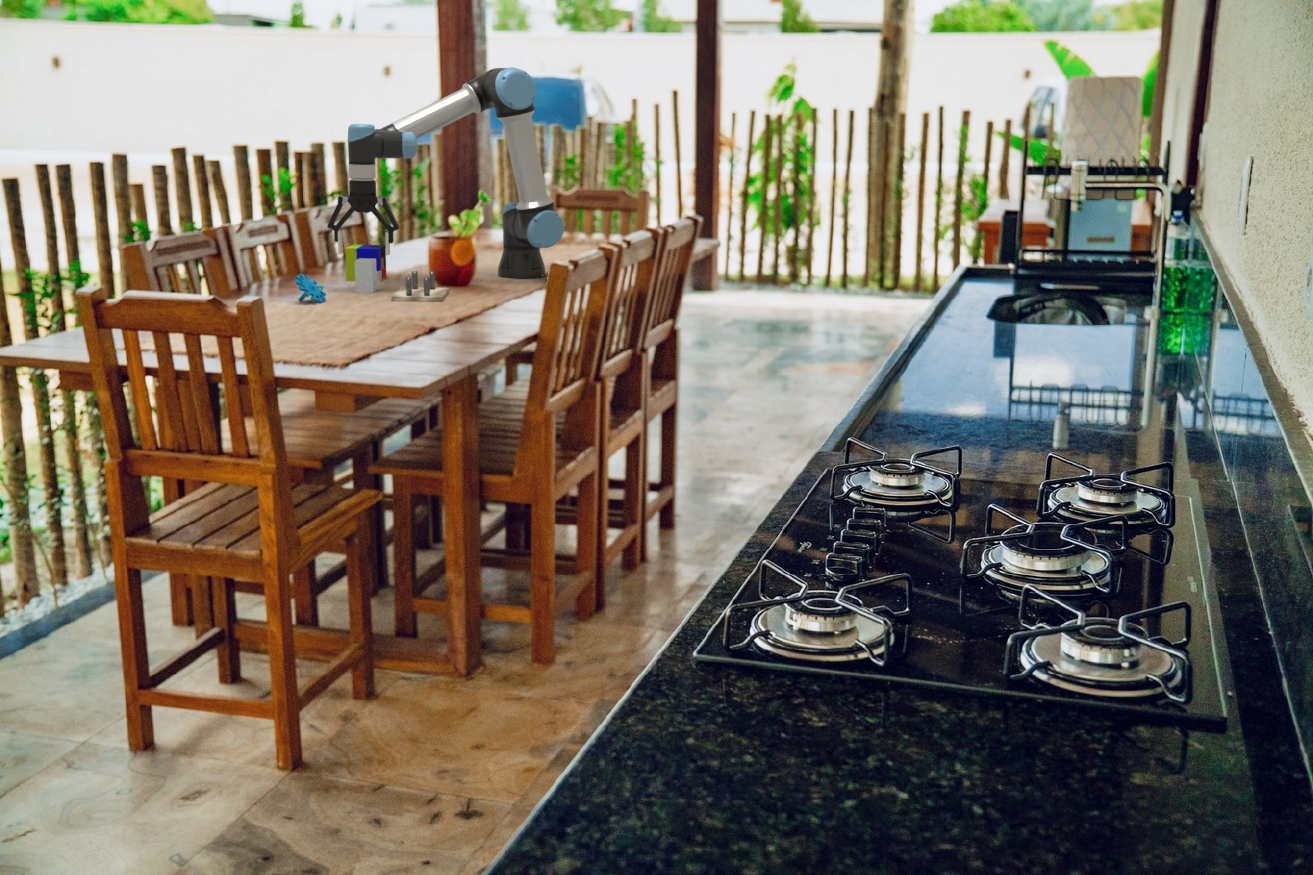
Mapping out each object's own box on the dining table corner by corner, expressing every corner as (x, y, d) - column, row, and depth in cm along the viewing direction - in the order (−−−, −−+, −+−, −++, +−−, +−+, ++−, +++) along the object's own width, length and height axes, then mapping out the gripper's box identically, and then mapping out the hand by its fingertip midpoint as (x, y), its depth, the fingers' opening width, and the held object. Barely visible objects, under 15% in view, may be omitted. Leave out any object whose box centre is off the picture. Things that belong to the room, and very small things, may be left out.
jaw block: (377, 289, 389) (376, 258, 386) (373, 292, 382) (372, 261, 380) (359, 289, 389) (358, 258, 386) (355, 292, 382) (354, 261, 379)
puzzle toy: (379, 281, 403) (378, 249, 401) (346, 281, 403) (345, 248, 401) (386, 277, 413) (385, 245, 410) (354, 276, 413) (353, 244, 411)
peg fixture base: (449, 291, 386) (448, 270, 385) (442, 301, 369) (441, 279, 367) (401, 291, 386) (400, 270, 384) (391, 300, 368) (390, 278, 367)
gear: (312, 299, 357) (291, 271, 359) (298, 314, 359) (278, 286, 361) (336, 299, 368) (316, 272, 369) (323, 313, 370) (303, 286, 371)
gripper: (408, 180, 381) (409, 253, 387) (321, 177, 380) (323, 251, 385) (404, 181, 374) (405, 256, 379) (315, 179, 373) (318, 254, 378)
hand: (364, 254), depth 382 cm, fingers open, 13 cm apart
